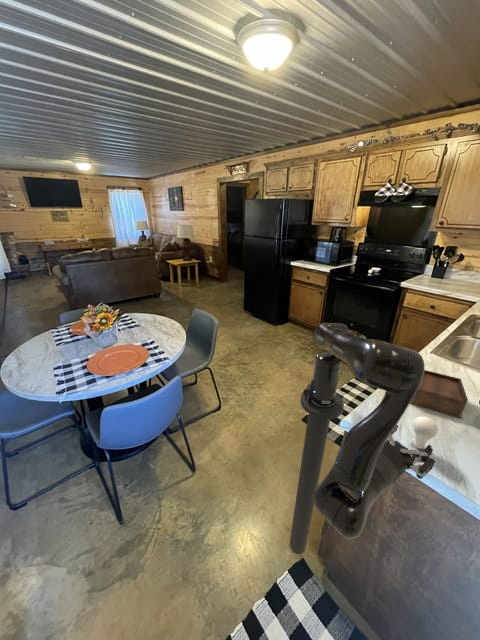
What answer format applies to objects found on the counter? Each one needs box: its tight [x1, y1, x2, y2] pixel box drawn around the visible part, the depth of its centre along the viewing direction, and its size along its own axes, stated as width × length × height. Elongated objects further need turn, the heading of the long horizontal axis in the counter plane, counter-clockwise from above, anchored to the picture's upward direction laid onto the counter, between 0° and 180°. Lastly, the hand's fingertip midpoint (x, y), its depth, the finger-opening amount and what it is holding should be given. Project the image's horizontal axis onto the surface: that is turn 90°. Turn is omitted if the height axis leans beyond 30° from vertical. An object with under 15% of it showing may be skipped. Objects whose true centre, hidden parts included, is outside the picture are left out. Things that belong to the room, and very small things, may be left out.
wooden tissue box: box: [410, 369, 469, 419], centre depth 100 cm, size 16×14×8 cm
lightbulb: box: [412, 415, 439, 449], centre depth 79 cm, size 6×6×11 cm
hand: (412, 436), depth 72 cm, fingers open, 8 cm apart
